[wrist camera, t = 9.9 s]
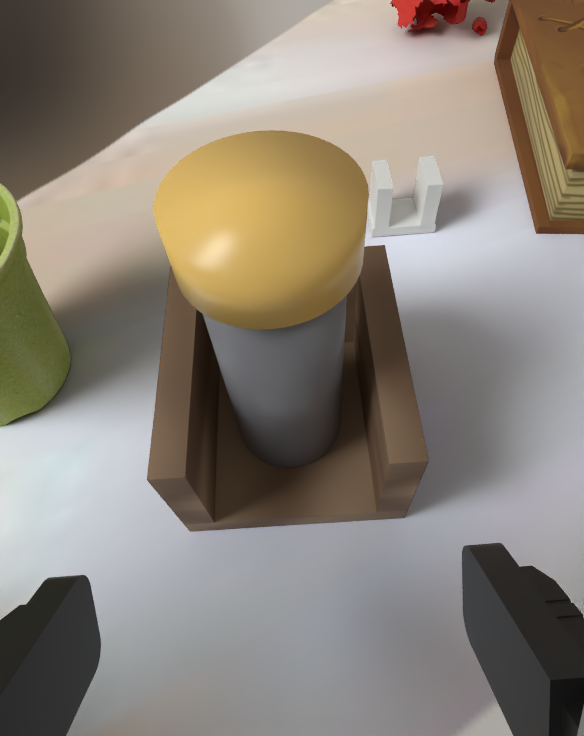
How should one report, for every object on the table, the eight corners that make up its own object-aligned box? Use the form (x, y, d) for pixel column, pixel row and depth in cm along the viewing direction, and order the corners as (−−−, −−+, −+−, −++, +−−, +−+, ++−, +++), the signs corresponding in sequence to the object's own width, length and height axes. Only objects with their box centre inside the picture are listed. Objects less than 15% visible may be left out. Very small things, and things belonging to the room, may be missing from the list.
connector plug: (229, 480, 21) (142, 281, 11) (231, 374, 24) (163, 138, 14) (356, 472, 21) (383, 263, 11) (343, 366, 24) (355, 123, 14)
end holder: (190, 531, 21) (146, 479, 16) (201, 345, 26) (170, 261, 21) (404, 517, 21) (428, 461, 16) (373, 332, 26) (384, 245, 21)
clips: (199, 250, 30) (186, 204, 27) (201, 221, 31) (189, 175, 28) (434, 232, 30) (445, 184, 27) (426, 204, 31) (436, 155, 28)
